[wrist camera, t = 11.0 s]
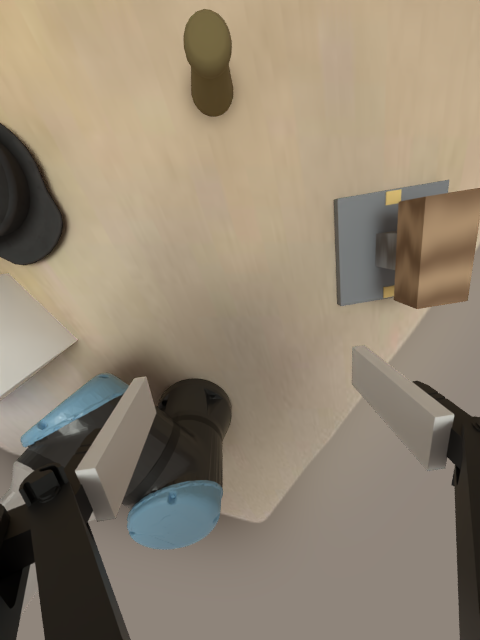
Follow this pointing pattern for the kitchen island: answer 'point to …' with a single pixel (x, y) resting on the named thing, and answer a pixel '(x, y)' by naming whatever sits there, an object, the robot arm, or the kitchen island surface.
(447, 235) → the wooden block on stand
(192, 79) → the cork
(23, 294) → the milk carton
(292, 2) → the kitchen island surface
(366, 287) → the lock plate
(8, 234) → the casserole
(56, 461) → the robot arm
